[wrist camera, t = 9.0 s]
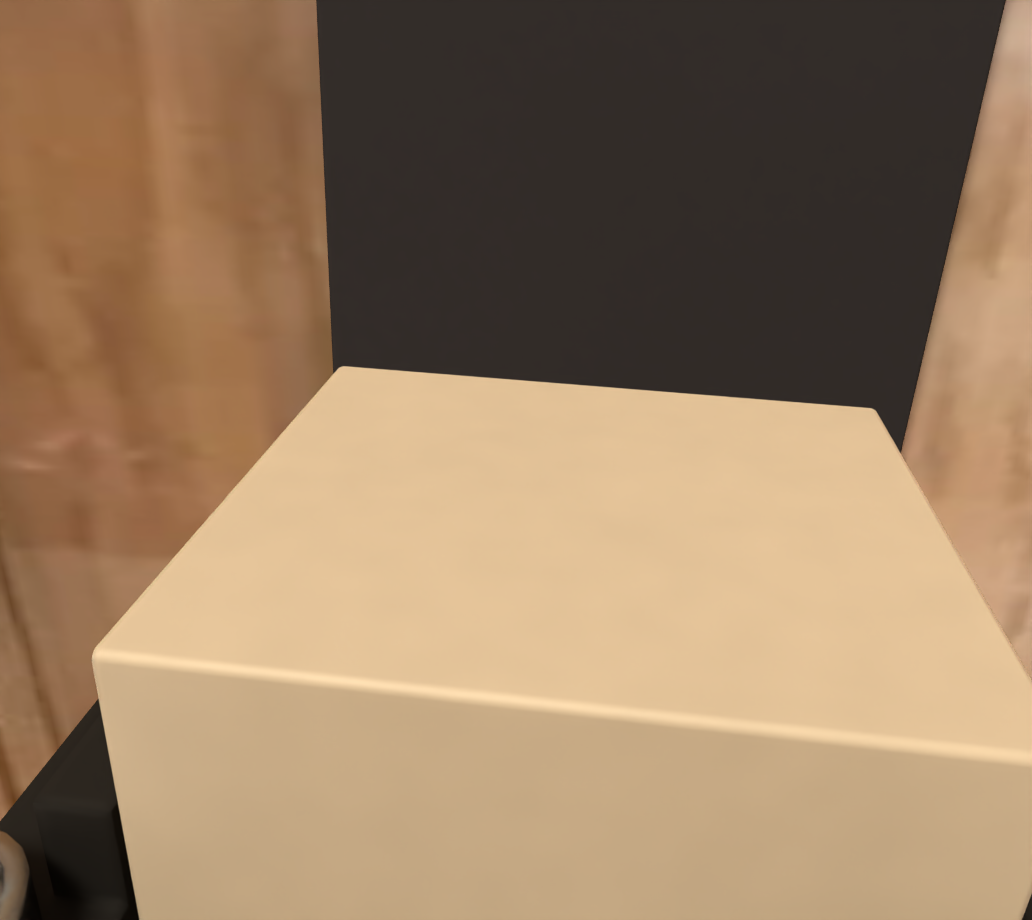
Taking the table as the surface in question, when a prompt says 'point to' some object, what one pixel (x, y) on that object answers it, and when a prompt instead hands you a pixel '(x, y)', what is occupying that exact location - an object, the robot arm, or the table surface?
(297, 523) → the cream wooden brick
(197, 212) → the table surface
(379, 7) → the mat
